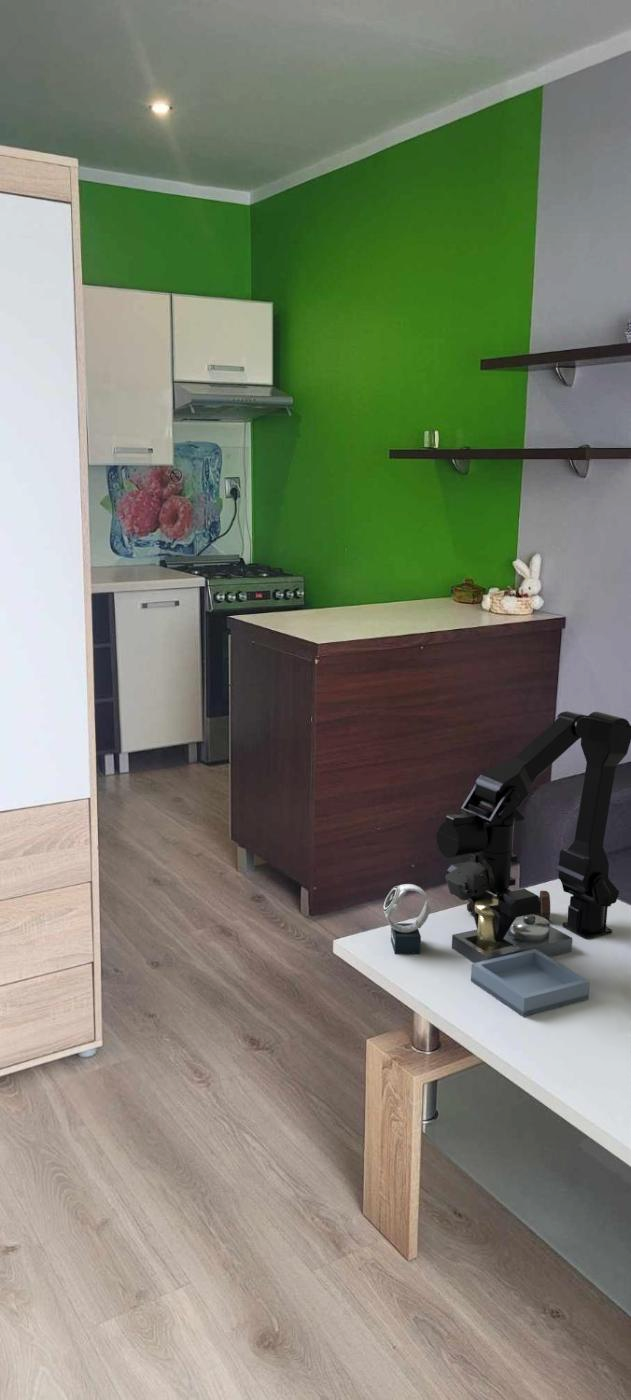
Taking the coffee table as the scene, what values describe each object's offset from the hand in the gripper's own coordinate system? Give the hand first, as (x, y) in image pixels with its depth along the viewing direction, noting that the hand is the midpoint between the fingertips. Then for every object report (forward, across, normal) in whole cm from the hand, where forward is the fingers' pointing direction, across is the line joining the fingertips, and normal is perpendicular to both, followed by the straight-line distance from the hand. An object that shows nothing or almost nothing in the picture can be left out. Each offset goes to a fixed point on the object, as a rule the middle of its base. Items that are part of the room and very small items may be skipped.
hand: (489, 935), depth 180 cm
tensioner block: (+4, 0, +5) cm, 6 cm away
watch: (+4, -9, -11) cm, 15 cm away
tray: (+4, +13, -2) cm, 14 cm away
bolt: (+4, -12, +14) cm, 19 cm away
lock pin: (+4, 0, 0) cm, 4 cm away
